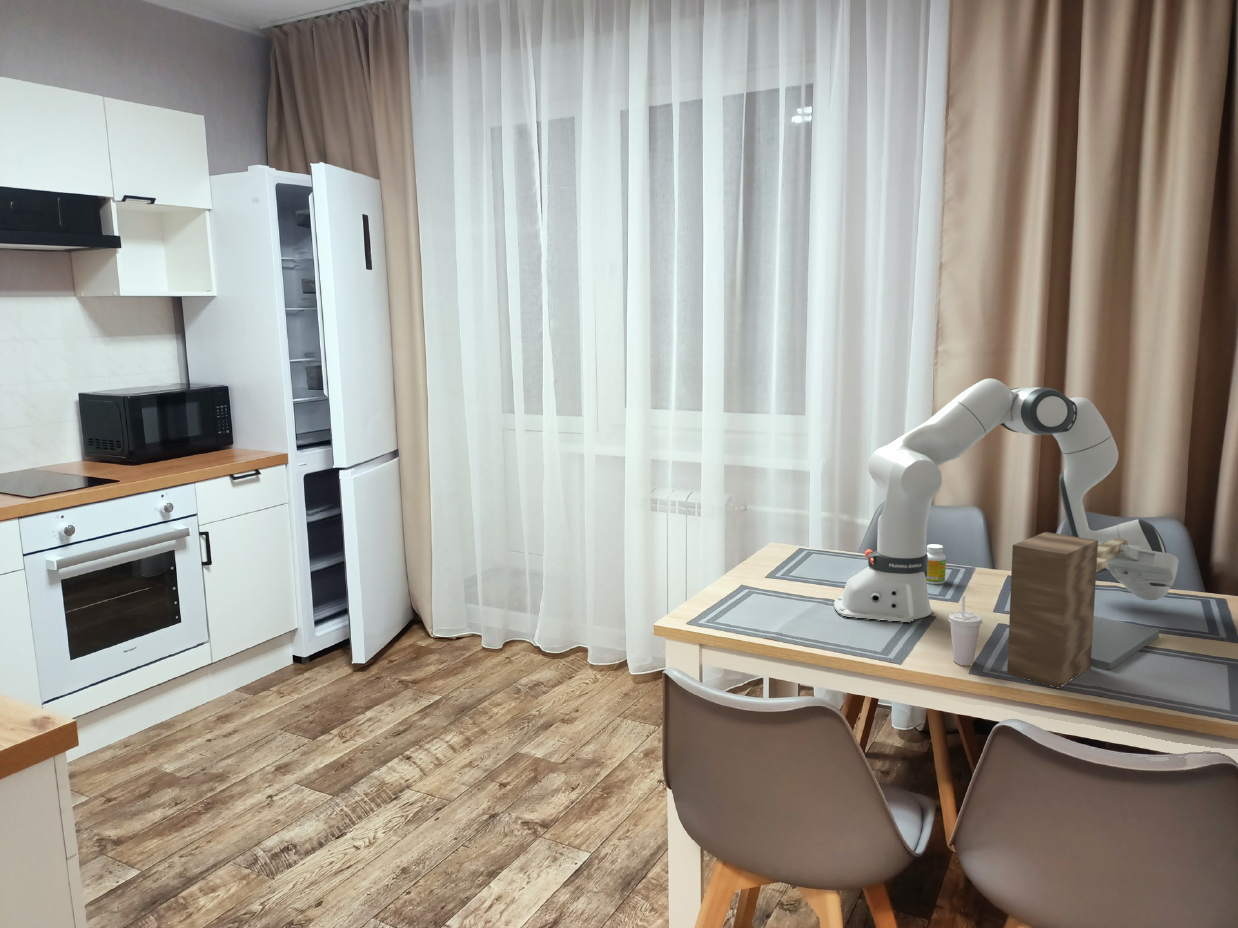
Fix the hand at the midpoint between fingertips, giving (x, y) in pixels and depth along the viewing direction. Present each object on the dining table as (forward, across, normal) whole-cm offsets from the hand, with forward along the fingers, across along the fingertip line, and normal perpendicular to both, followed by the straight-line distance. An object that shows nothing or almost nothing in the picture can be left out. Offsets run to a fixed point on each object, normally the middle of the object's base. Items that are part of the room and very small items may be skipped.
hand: (1112, 546), depth 190 cm
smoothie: (+21, -14, +35) cm, 43 cm away
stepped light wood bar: (+5, 0, +5) cm, 7 cm away
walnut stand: (+15, 0, +31) cm, 34 cm away
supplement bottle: (-18, -47, +12) cm, 52 cm away
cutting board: (-4, 0, +20) cm, 21 cm away
